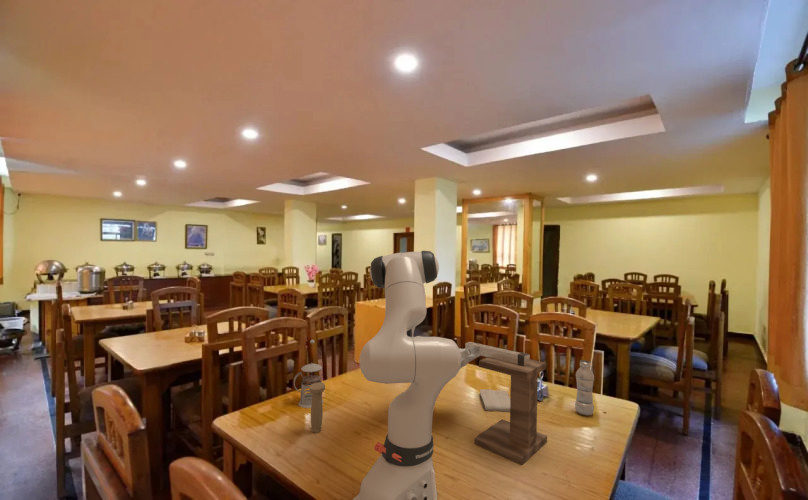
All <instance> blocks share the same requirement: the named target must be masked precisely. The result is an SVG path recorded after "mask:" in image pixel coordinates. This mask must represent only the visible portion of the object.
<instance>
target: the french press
mask: <svg viewBox="0 0 808 500" xmlns="http://www.w3.org/2000/svg"><path fill="white" fill-rule="evenodd" d="M309 343H310V344H315V343H316V342H315V340H314V339H311V340H310V341H309ZM300 369H301V371H300V372H298V373H296V374H295V376H294V378H293V386H294V389H295V391H297V392H299V393H300V401H298V403H297V405H298V406H299V407H301V408H304V409H311V405H312V393H310V391H309V387H310V385H312V384H314V383H318V382H320V383H322V380H321V376H319V375H316V374H315V375H314V374H313V373H315V372H316V373H317V372H321V370H322V369H323V367H322V366H321V365H320V364H318V363H308V364H305V365H303V366H302V367H301V368H300ZM302 372H304V373H310V375H305V376H303V373H302ZM299 376H301V379H302V381H301V386H300V389H299V388H297V387H296V384H295V383H296V380H297V378H298V377H299ZM323 404H324V400H323V399H322V405H323Z"/></svg>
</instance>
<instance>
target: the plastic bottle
mask: <svg viewBox="0 0 808 500" xmlns="http://www.w3.org/2000/svg"><path fill="white" fill-rule="evenodd" d="M575 379H576V400H575V403H574V406H575V408H574V409H575V411H576V412H577V413H578V414H580V415H582V416H592V415H593V414H594V410H595V408H594V407H595V406H594V401H593V386H594V381H595V375H594V372H593V371H592V370H591V361H589V360H586V359H581V360H579V368H578V369H577V370H576V372H575Z"/></svg>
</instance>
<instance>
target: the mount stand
mask: <svg viewBox="0 0 808 500" xmlns="http://www.w3.org/2000/svg"><path fill="white" fill-rule="evenodd" d="M478 368H482V369H486V370H489V371H493V372H496V373H500V374H504V375H507V376H510V396H509V398H510V412H509V421H508V420H506V419H502V418H501V419H500V420H498V421H497V422H496V423H494V424H492V425H491V426H490V427H488V428H487V429H485V430H483V431H482V432H481V433H479V434H478V435H476V436H475V437H474V439H473V440H474V443H473V444H474V445H476V446H478V447H480V448H483V449H485V450H487V451H490V453H491V452H492V453H494V454H497V455H498V456H501V457H502V458H504V459H505V458H506V459H507V460H510V461H512V462H515V463H516V464H519V465H520V466H523V465H524V464H525V463H527V461H529V460H530V459H531V458H532V457H533V456H534V455H535V454H536V453H538V451H539V450H540V449H541V448H543V447H544V446H545V445H546V443H548V435H546V434H544V433H540V432H538V430H537V429H538V428H537V427H538V421H537V420H538V377H539V375H538V374H540V373H542V372H543V371H545V370H546V369H547V362H544V361H539V360H535V359H531V358H530V364H529V365H527V366H521V365H518V364H514V363H509V362H505V361H501V360H497V359H493V358H489V357H485V358H482V359H480V360H479V361H478Z"/></svg>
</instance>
